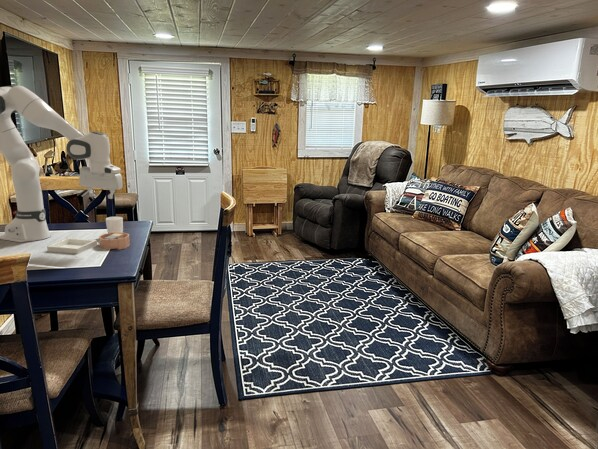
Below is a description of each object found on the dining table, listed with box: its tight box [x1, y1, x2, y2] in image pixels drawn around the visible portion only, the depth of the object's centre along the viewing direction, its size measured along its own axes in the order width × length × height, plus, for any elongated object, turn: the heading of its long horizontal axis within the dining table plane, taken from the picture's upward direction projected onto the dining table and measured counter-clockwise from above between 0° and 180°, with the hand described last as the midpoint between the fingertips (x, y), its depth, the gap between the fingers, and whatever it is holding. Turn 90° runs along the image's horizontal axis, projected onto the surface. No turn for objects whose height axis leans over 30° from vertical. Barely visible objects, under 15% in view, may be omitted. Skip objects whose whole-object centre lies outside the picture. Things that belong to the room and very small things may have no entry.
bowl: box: [98, 232, 131, 251], centre depth 212 cm, size 13×13×5 cm
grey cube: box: [104, 236, 118, 240], centre depth 209 cm, size 4×4×4 cm
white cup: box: [105, 216, 124, 233], centre depth 225 cm, size 8×8×10 cm
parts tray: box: [46, 237, 98, 255], centre depth 205 cm, size 15×14×3 cm
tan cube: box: [110, 233, 124, 239], centre depth 214 cm, size 4×4×4 cm
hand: (101, 197), depth 210 cm, fingers open, 8 cm apart
